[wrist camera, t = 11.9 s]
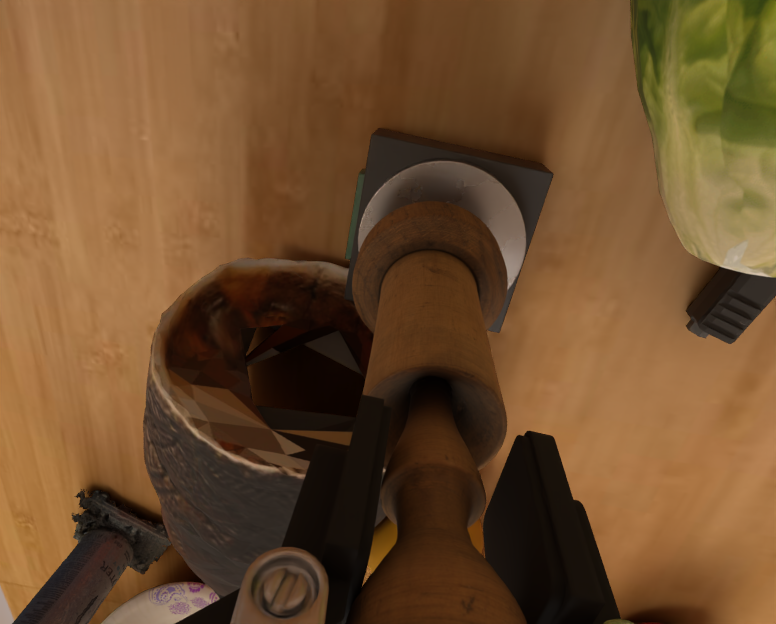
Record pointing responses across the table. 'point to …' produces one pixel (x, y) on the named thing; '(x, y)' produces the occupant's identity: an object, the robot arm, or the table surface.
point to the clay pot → (241, 408)
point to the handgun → (730, 304)
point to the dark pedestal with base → (95, 561)
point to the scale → (450, 193)
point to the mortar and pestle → (434, 411)
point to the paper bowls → (164, 604)
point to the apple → (649, 623)
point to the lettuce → (713, 123)
